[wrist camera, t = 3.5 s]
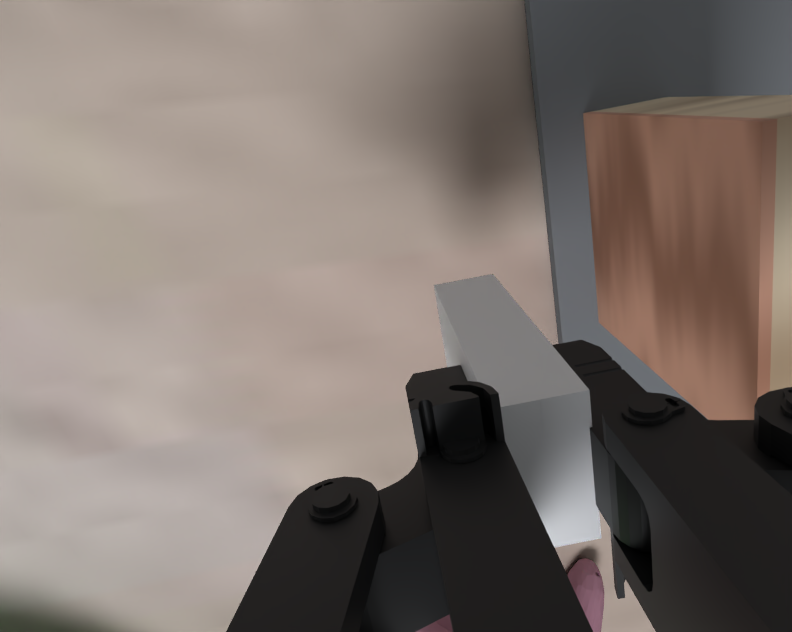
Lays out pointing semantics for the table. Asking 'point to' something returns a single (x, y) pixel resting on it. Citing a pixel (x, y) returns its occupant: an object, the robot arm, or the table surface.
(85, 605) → the table surface
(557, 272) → the rubber mat
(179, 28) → the table surface
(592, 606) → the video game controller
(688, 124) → the oak tile
